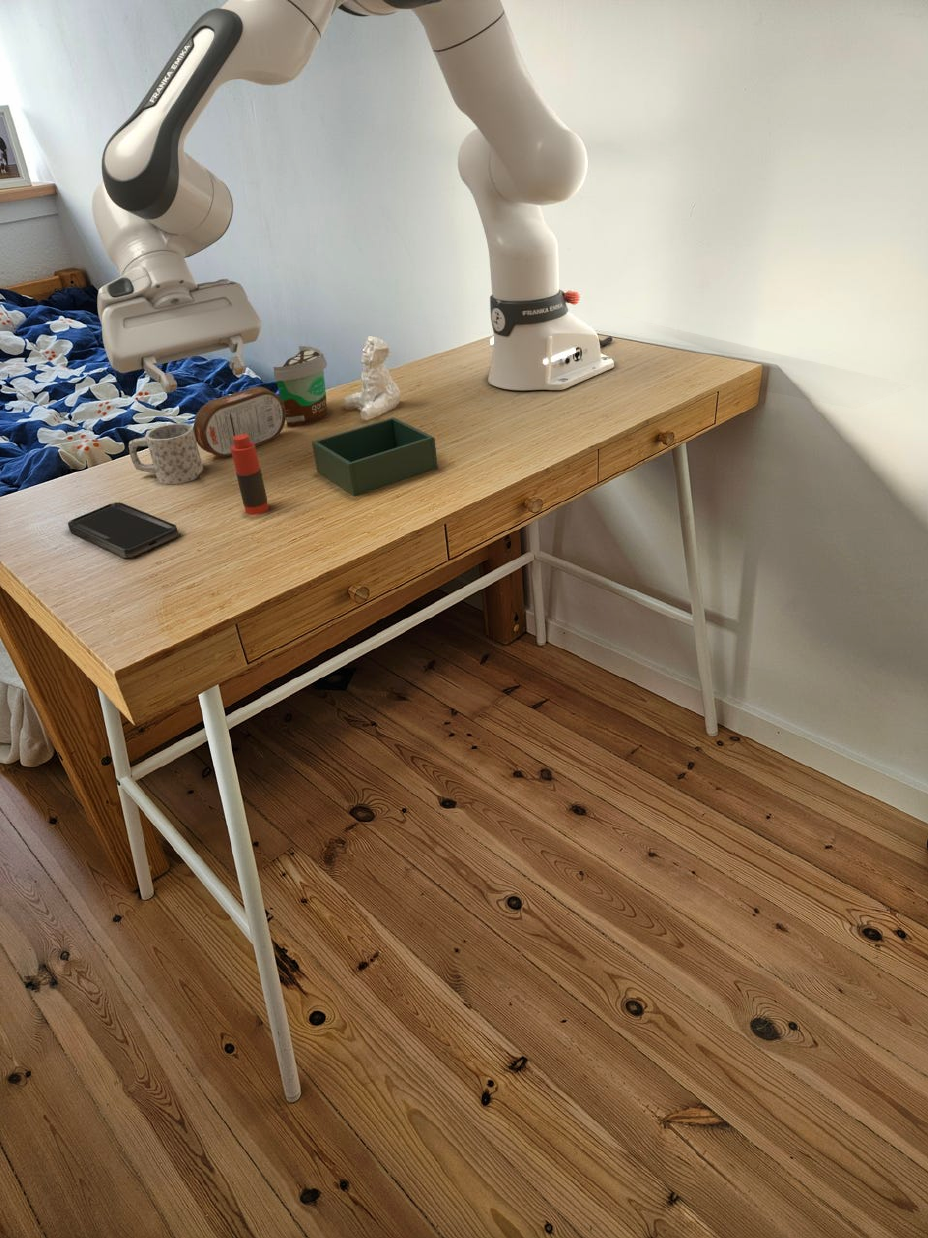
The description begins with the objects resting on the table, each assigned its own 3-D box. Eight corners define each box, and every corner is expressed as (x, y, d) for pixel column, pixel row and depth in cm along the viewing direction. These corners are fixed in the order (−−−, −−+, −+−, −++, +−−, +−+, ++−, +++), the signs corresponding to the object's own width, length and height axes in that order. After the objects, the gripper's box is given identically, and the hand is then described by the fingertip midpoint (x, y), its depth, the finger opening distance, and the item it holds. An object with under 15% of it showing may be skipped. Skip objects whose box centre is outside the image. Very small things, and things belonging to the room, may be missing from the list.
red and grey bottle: (264, 505, 119) (247, 430, 114) (273, 512, 117) (256, 436, 111) (242, 512, 118) (224, 436, 112) (251, 520, 116) (233, 443, 110)
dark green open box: (397, 449, 132) (393, 416, 129) (438, 471, 124) (434, 437, 121) (317, 475, 126) (311, 441, 124) (354, 499, 118) (348, 464, 116)
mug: (209, 464, 133) (198, 421, 130) (195, 483, 128) (183, 438, 124) (145, 468, 134) (133, 425, 131) (128, 486, 129) (115, 442, 125)
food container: (320, 429, 142) (309, 367, 137) (284, 429, 143) (271, 368, 138) (344, 403, 152) (335, 344, 147) (310, 403, 153) (300, 344, 148)
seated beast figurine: (342, 408, 150) (330, 336, 143) (388, 396, 153) (379, 325, 147) (365, 423, 143) (354, 348, 136) (413, 410, 146) (404, 336, 140)
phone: (117, 500, 121) (179, 526, 113) (119, 508, 122) (182, 534, 113) (63, 523, 117) (124, 552, 108) (66, 531, 117) (127, 560, 108)
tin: (282, 430, 143) (271, 378, 139) (293, 434, 141) (283, 382, 137) (199, 461, 135) (185, 407, 130) (210, 466, 133) (196, 411, 128)
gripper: (234, 291, 125) (276, 374, 124) (87, 322, 117) (130, 412, 115) (239, 261, 120) (283, 348, 118) (85, 292, 111) (130, 386, 109)
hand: (206, 380), depth 116 cm, fingers open, 8 cm apart
